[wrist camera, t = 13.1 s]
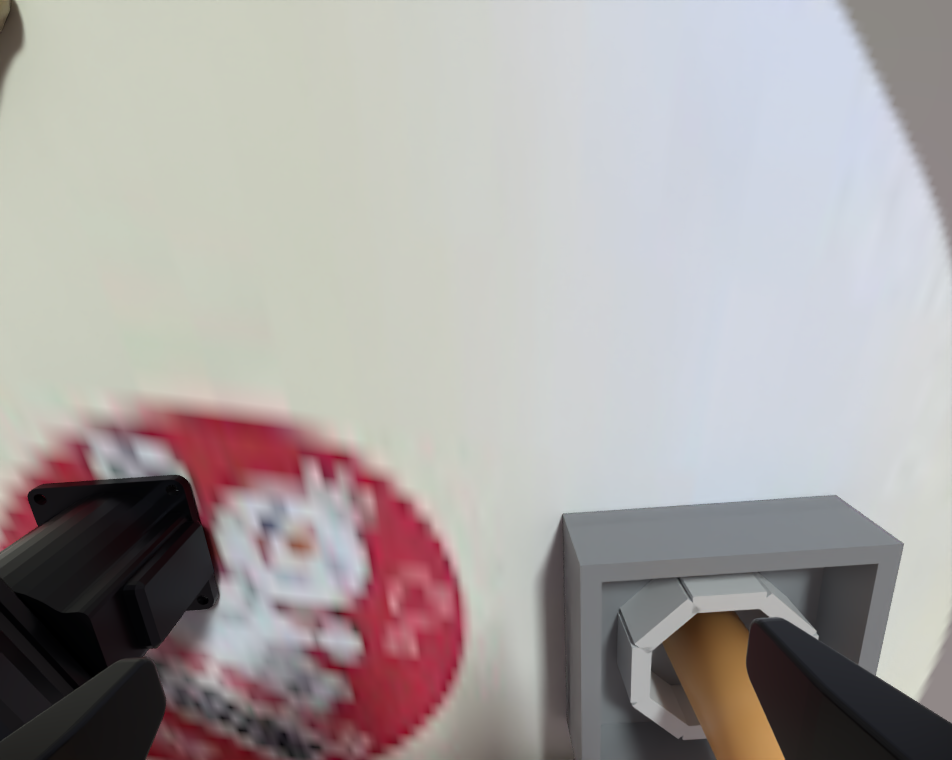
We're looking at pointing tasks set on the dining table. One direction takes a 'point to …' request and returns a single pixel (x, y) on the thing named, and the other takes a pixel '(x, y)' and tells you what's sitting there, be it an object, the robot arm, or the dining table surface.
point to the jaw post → (722, 686)
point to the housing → (706, 604)
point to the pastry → (4, 12)
